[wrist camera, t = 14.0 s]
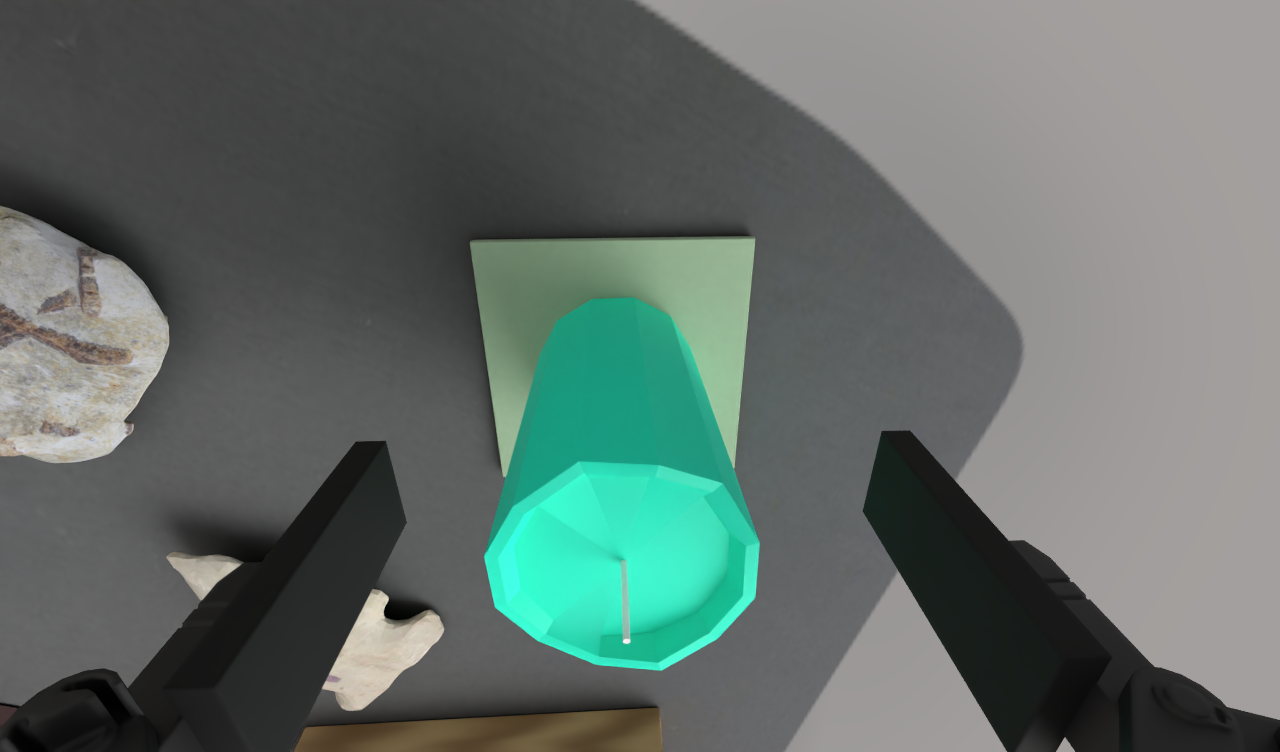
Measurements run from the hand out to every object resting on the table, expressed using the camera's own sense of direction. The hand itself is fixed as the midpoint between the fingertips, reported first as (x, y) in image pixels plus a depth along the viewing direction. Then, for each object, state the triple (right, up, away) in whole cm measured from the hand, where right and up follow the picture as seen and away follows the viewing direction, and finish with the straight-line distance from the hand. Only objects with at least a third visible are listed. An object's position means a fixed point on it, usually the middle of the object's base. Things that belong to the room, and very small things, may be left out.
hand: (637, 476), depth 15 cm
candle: (-1, +3, +7) cm, 7 cm away
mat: (-1, +3, +7) cm, 8 cm away
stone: (-21, +5, +5) cm, 22 cm away
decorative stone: (-16, -8, +12) cm, 21 cm away
